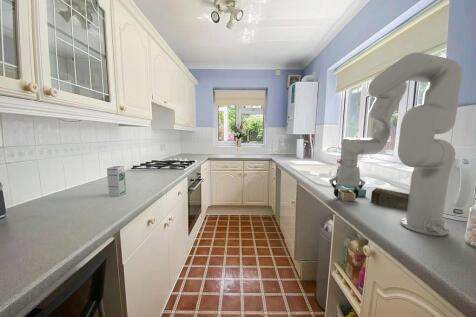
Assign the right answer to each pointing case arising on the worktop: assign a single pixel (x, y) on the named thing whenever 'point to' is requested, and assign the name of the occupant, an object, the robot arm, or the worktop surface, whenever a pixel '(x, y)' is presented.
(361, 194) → the box
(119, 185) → the syrup box
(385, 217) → the worktop surface
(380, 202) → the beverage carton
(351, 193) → the small crate
